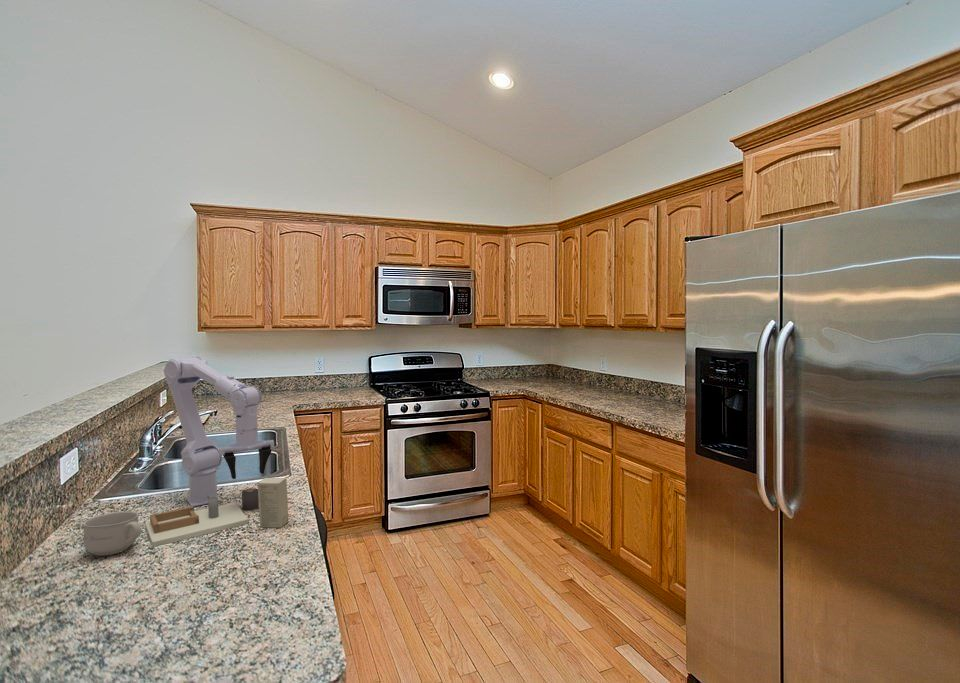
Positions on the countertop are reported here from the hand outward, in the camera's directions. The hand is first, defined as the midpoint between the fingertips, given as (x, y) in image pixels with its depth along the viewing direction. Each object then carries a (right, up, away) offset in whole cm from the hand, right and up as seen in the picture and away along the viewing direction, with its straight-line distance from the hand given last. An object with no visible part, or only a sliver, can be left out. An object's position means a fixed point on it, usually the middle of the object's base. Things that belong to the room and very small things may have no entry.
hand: (248, 475), depth 147 cm
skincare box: (+12, -11, -11) cm, 19 cm away
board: (-9, -10, -11) cm, 17 cm away
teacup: (-20, -12, -26) cm, 34 cm away
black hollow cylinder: (0, -10, +1) cm, 10 cm away
